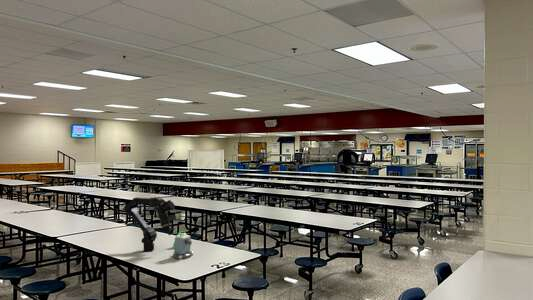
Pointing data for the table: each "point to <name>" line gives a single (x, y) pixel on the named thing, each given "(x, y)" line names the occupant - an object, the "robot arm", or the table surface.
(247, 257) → the table surface
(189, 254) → the tribrach base
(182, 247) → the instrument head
